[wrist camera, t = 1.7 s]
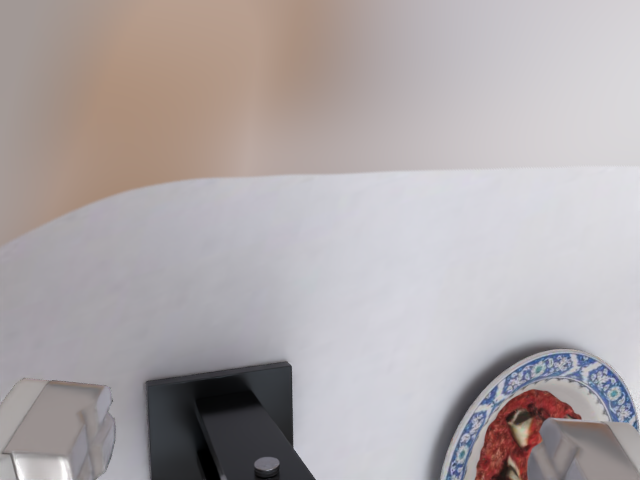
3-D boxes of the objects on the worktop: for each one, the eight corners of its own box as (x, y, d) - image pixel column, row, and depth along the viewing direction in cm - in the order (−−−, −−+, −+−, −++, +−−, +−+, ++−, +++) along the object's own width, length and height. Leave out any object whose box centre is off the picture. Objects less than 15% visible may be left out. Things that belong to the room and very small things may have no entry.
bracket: (150, 483, 40) (172, 638, 26) (145, 381, 39) (165, 484, 25) (289, 454, 44) (371, 574, 30) (287, 361, 43) (370, 440, 29)
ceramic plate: (381, 560, 48) (398, 582, 45) (495, 304, 50) (517, 310, 48) (564, 608, 58) (587, 629, 55) (653, 391, 60) (679, 401, 57)
